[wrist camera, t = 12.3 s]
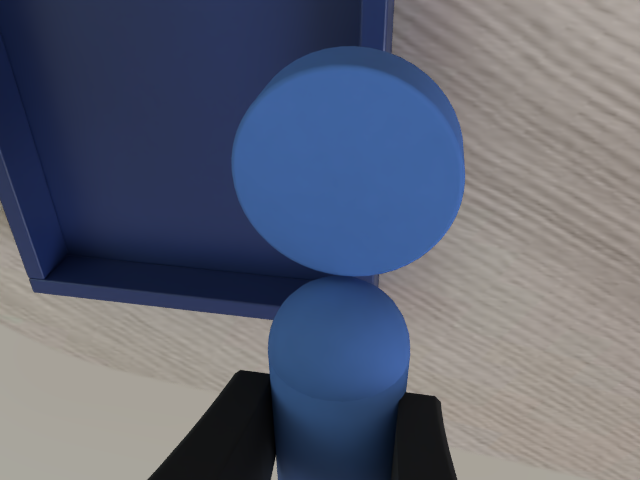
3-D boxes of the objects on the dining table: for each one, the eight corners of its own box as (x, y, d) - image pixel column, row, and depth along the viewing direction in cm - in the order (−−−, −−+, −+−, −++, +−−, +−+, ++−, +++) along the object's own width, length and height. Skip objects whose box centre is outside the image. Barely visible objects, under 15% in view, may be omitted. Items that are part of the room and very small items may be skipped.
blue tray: (377, 291, 19) (371, 332, 17) (66, 258, 21) (32, 293, 19) (424, -539, 9) (420, -625, 8) (-159, -466, 11) (-264, -523, 9)
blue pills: (240, 39, 8) (177, 93, 6) (478, 49, 8) (490, 112, 6) (273, 450, 14) (244, 549, 12) (417, 472, 13) (413, 580, 11)
